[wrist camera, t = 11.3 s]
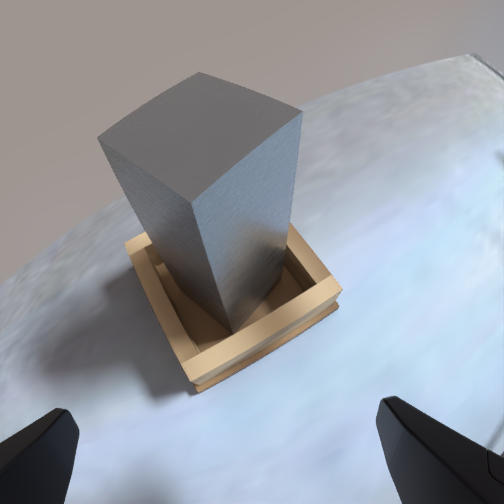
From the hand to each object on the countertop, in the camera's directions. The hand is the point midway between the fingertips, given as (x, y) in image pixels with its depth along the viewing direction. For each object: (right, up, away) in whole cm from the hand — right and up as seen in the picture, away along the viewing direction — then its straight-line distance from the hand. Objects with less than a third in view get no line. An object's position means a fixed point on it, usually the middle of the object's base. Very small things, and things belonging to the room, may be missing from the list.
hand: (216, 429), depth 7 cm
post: (0, +3, +12) cm, 12 cm away
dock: (0, +2, +12) cm, 12 cm away
